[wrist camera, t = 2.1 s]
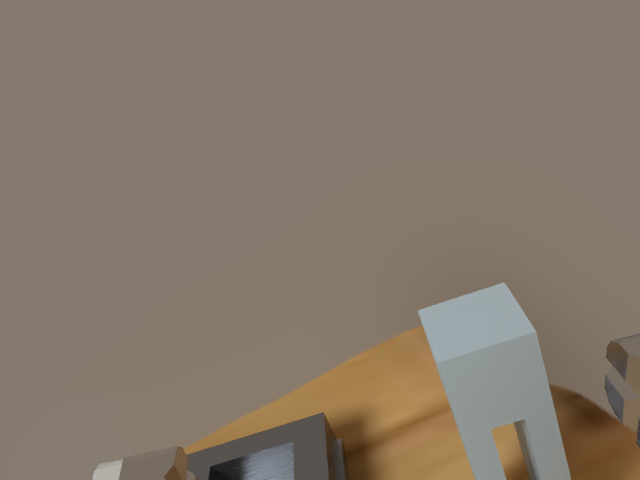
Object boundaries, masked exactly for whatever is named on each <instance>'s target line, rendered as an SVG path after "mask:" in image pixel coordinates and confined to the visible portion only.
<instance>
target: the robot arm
mask: <svg viewBox="0 0 640 480" xmlns="http://www.w3.org/2000/svg"><path fill="white" fill-rule="evenodd" d="M606 357H607V359H608V360H609V361H610V362H611V364H612V365H613V366H612V367H611V368H610V370H609V371H608V372H607V373H606V375H605V390H606V393H607V397H608V400H609V403H610V405H611V407H612V409H613V411H614V413H615V415H616V416H617V417H618V419H619V420H620V422H621V423H622V424H623V425H625V426H627V427H629V428H632V429H634V430H636V431H637V441H636V443H637V445H638V446H639V447H640V334H637V335H633V336H629V337H625V338H621V339H617V340H613V341H610V343H609V345H608V346H607V355H606ZM187 466H188V458H187V456H186V454H185V452H184V450H183V448H182V447H179V446H177V447H172V448H169V449H163V450H159V451H154V452H149V453H145V454H140V455H135V456H131V457H126V458H124V459H119V460H115V461H110V462H105V463H101V464H99V466H98V467H97V469H96V470H95V472H94V475H93V480H198V479H197V477H196V475H195V474H193V473H191V472H189V471H187Z"/></svg>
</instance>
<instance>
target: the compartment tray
mask: <svg viewBox="0 0 640 480" xmlns="http://www.w3.org/2000/svg"><path fill="white" fill-rule="evenodd" d="M186 456H187V458H188V466H187V471H189V472H191V473H193V474H195V475H196V477H197V479H198V480H348V477H347V468H346V459H345V451H344V444H343V442H342V440H341V438H340V439H337V440H336V438H335V436H334V433H333V431H332V429H331V427H330V425H329V423H328V421H327V419H326V416H325V414H324V412H323V413H320V414H317V415H314V416H310V417H307V418H304V419H301V420H298V421H294V422H291V423H288V424H285V425H281V426H278V427H275V428H272V429H269V430H265V431H262V432H259V433H256V434H253V435H249V436H246V437H243V438H240V439H237V440H233V441H230V442H227V443H224V444H221V445H217V446H214V447H211V448H208V449H204V450H201V451H198V452H195V453H192V454H188V455H186Z"/></svg>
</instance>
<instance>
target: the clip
mask: <svg viewBox="0 0 640 480" xmlns="http://www.w3.org/2000/svg"><path fill="white" fill-rule="evenodd" d="M418 313H419V316H420V319H421V322H422V325H423V328H424V331H425V334H426V337H427V339H428V342H429V345H430V348H431V351H432V354H433V357H434V360H435V363H436V366H437V369H438V372H439V375H440V378H441V381H442V384H443V386H444V389H445V392H446V395H447V398H448V401H449V404H450V407H451V410H452V413H453V416H454V419H455V422H456V425H457V428H458V430H459V433H460V436H461V439H462V442H463V445H464V448H465V451H466V454H467V457H468V460H469V463H470V466H471V469H472V472H473V475H474V477H475V480H506V477H505V474H504V471H503V467H502V464H501V461H500V458H499V454H498V451H497V448H496V445H495V441H494V438H493V435H492V432H491V429H493V428H497V427H500V426H503V425H507V424H510V423H513V422H514V425H515V428H516V432H517V436H518V439H519V443H520V446H521V450H522V453H523V457H524V460H525V464H526V467H527V471H528V474H529V478H530V480H571V476H570V472H569V468H568V463H567V459H566V455H565V451H564V447H563V443H562V438H561V434H560V430H559V426H558V422H557V417H556V413H555V409H554V405H553V401H552V397H551V392H550V388H549V384H548V380H547V376H546V371H545V367H544V363H543V359H542V355H541V351H540V346H539V342H538V338H537V334H536V331H535V329H534V328H533V326H532V325H531V323H530V322H529V320H528V319H527V317H526V315H525V314H524V312H523V311H522V309H521V308H520V306H519V304H518V303H517V301H516V300H515V298H514V297H513V295H512V293H511V292H510V290H509V289H508V287H507V286H506V284H505V283H501V284H498V285H495V286H492V287H489V288H486V289H482V290H480V291H477V292H473V293H470V294H467V295H464V296H461V297H458V298H455V299H452V300H449V301H446V302H442V303H439V304H436V305H433V306H430V307H427V308H424V309H421V310H418Z"/></svg>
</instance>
